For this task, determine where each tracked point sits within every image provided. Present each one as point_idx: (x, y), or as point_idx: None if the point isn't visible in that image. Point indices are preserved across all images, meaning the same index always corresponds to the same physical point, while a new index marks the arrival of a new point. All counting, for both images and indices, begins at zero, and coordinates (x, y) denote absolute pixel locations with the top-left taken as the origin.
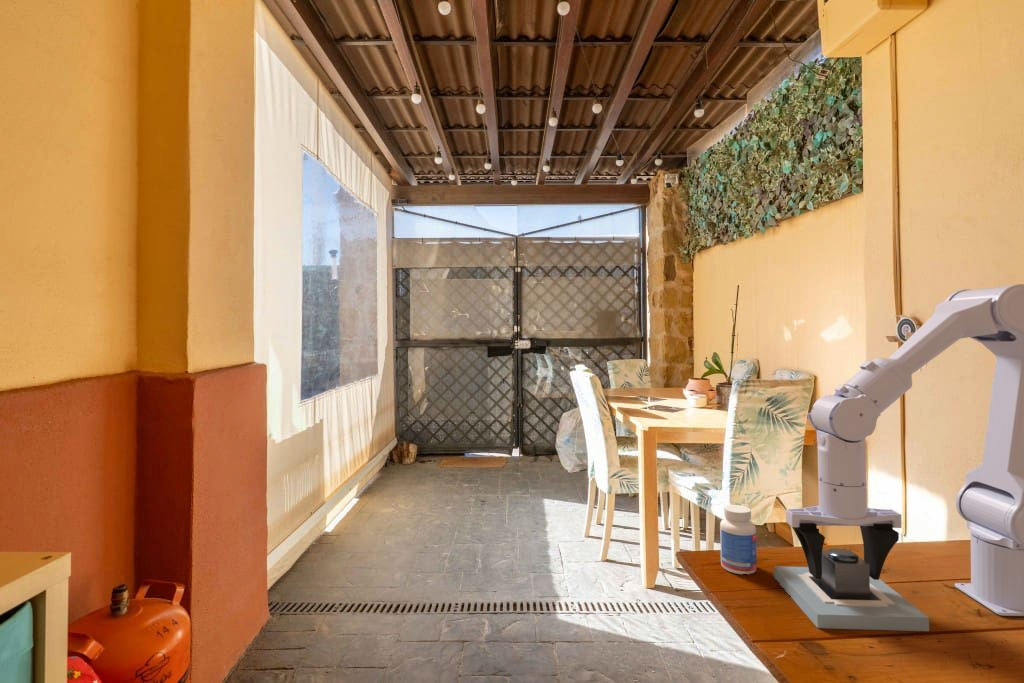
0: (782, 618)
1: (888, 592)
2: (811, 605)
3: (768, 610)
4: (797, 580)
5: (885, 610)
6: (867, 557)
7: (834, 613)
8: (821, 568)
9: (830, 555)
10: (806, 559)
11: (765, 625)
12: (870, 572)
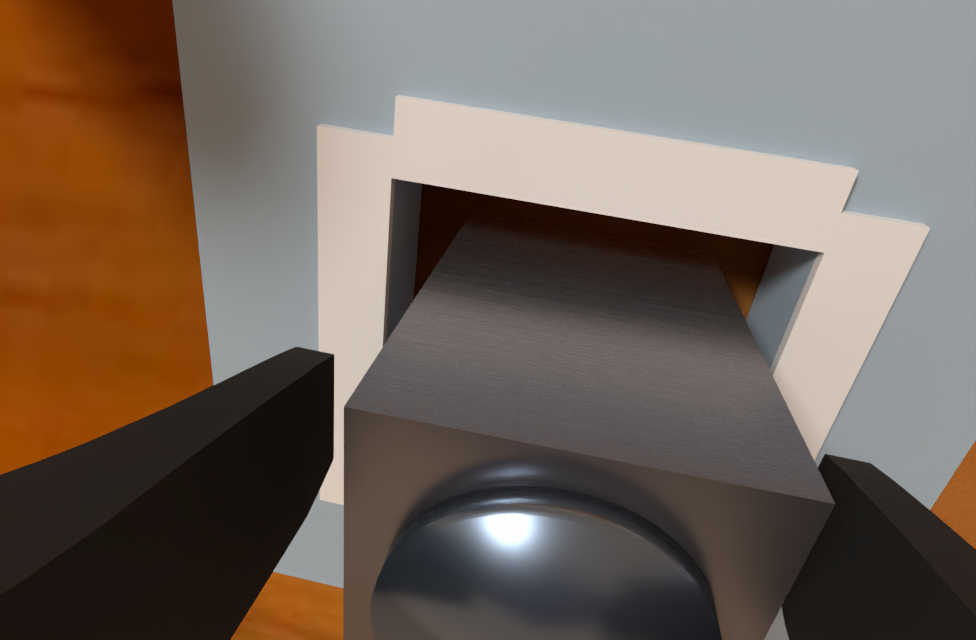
0: (137, 416)
1: None
2: None
3: (85, 344)
4: (281, 208)
5: None
6: (903, 627)
7: (322, 573)
8: (281, 551)
9: (372, 615)
10: (209, 388)
11: (49, 447)
12: None
